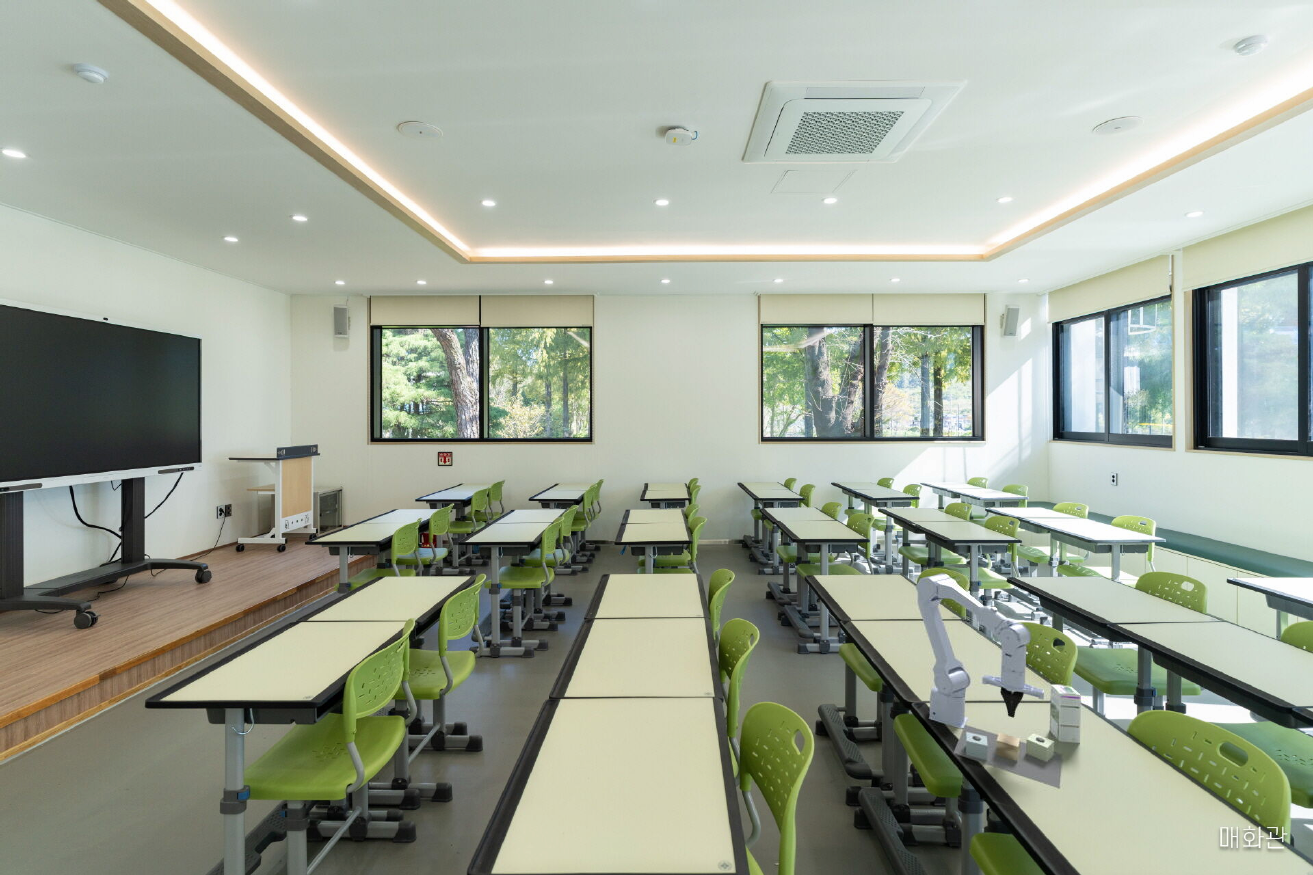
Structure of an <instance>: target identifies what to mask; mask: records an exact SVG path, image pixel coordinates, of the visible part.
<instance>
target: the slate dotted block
mask: <svg viewBox="0 0 1313 875" xmlns="http://www.w3.org/2000/svg"><path fill="white" fill-rule="evenodd" d="M987 752H988V744H987V737H986V736H982V735H978V734H974V733H969V732H966V755H968V756H972V757H976V758H980V759H984V760H987Z"/></svg>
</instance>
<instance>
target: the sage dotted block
mask: <svg viewBox="0 0 1313 875" xmlns="http://www.w3.org/2000/svg"><path fill="white" fill-rule="evenodd" d="M1025 741H1026V742H1025V743H1026V754H1029V755H1031V756H1033V757H1036V758H1038V759H1040V760H1043V761H1045V762H1048V761H1049V760H1050V759H1051V758H1052V757H1053V756H1054V752H1055V748H1054V747H1055V741H1054V740H1052V739H1049V738H1046V737H1044V736H1041V735H1039V734H1037V733H1032V734H1031V735H1030V736H1028V738H1026V740H1025Z"/></svg>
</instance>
